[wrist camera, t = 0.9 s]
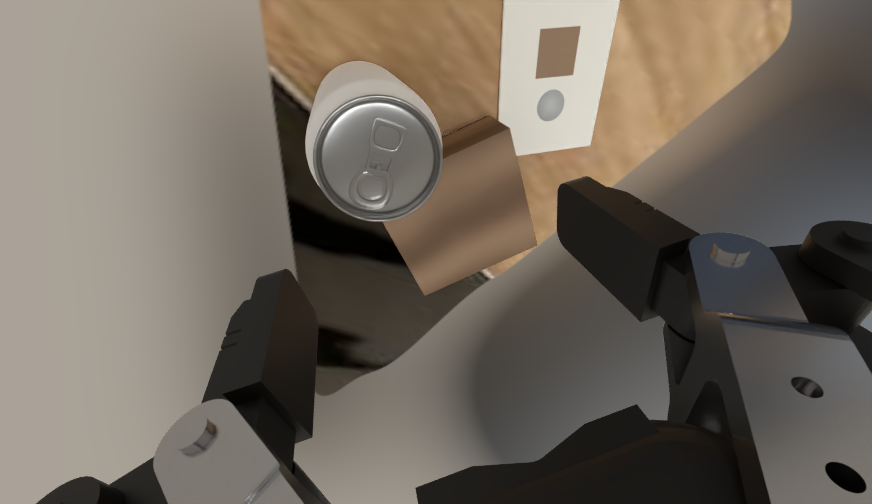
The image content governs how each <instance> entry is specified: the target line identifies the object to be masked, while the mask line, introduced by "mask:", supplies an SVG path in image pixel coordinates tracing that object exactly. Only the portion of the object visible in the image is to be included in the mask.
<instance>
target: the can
mask: <svg viewBox="0 0 872 504" xmlns="http://www.w3.org/2000/svg"><path fill="white" fill-rule="evenodd" d="M305 147H306V156H307V161H308V165H309V168H310V171H311V173H312V175H313V177H314V179H315V181H316V182H317V184H318V185H319V187H320V188H321V189H322V191H323V192H324V194H325V195H326V197H327V198H328V199H329V200H330V201H331V202H332V203H333V204H334V205H335V206H336V207H337V208H339V209H340V210H341V211H343V212H345V213H346V214H348V215H350V216H353V217H355V218H358V219H361V220H365V221H372V222H386V221H392V220H396V219H400V218H402V217H405V216H407V215H409V214H411V213H413V212H414V211H416V210H417V209H418V208H420V207H421V206H422V205H423V204H424V203H425V202H426V201H427V200H428V199H429V198H430V196H431V195H432V193H433V192H434V190H435V188H436V187H437V184H438V182H439V179H440V176H441V172H442V166H443V152H442V137H441V133H440V129H439V126H438V123H437V121H436V119H435V117H434V115H433V113H432V112H431V110H430V108H429V107H428V106H427V104H426V103H425V102H424V101H423V100H422V99H421V98H420V97H419V96H418V95H417V94H416V93H415V92H414V91H413V90H411V89H410V88H409V87H408V86H407V85H405V84H404V83H403V82H401V81H400V80H399V79H398V78H396V77H395V76H394V75H392V74H391V73H390V72H388V71H387V70H386V69H384V68H382V67H380V66H378V65H376V64H374V63H370V62H366V61H351V62H347V63H344V64H341V65H339V66H337V67H335V68H334V69H333V70H331V71H330V72H329V73H328V74H327V75H326V76H325V78H324V79H323V81H322V82H321V84H320V86H319V89H318V91H317V94H316V97H315V100H314V104H313V107H312V111H311V114H310V118H309V122H308V126H307V131H306V140H305Z"/></svg>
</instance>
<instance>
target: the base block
mask: <svg viewBox="0 0 872 504" xmlns="http://www.w3.org/2000/svg"><path fill="white" fill-rule="evenodd" d="M442 152H443V166H442V172H441V176H440V179H439V182H438V184H437V187H436V188H435V190H434V192H433V193H432V195H431V196H430V198H429V199H428V200H427V201H426V202H425V203H424V204H423V205H422V206H421V207H420V208H418V209H417V210H416V211H414V212H413V213H411V214H409V215H407V216H405V217H402V218H400V219H396V220H392V221H386V222H383V224H384V225H385V227H386V229H387V231H388V232H389V234H390V236H391V238H392V239H393V241H394V243H395V245H396V246H397V248H398V250H399V252H400V253H401V255H402V257H403V259H404V260H405V262H406V264H407V266H408V267H409V269H410V271H411V273H412V274H413V276H414V278H415V280H416V281H417V283H418V285H419V287H420V288H421V290H422V292H423V294H424V295H428V294H430V293H432V292H434V291H437V290H439V289H441V288H443V287H445V286H448V285H450V284H452V283H454V282H457V281H459V280H461V279H463V278H465V277H468V276H470V275H472V274H474V273H477V272H479V271H481V270H483V269H486V268H488V267H490V266H492V265H494V264H497V263H499V262H501V261H503V260H506V259H508V258H510V257H512V256H514V255H517V254H519V253H521V252H523V251H526V250H528V249H530V248H532V247H534V246H537V242H536V237H535V233H534V229H533V224H532V220H531V216H530V212H529V207H528V203H527V199H526V195H525V190H524V186H523V182H522V178H521V173H520V169H519V165H518V161H517V156H516V152H515V148H514V144H513V139H512V135H511V131H510V128H509V127H507V126H506V125H504V124H503V123H501V122H499V121H498V120H496V119H495V118H493V117H491V116H487V117H485V118H483V119H481V120H479V121H477V122H475V123H472V124H470V125H468V126H466V127H464V128H462V129H460V130H457V131H455V132H453V133H451V134H449V135H447V136H445V137H442Z"/></svg>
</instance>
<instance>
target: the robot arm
mask: <svg viewBox="0 0 872 504" xmlns="http://www.w3.org/2000/svg"><path fill="white" fill-rule="evenodd" d="M557 233H558V237H559V240H560V242H561V244H562V245H563V246H564V248H565V249H566V250H567V251H568V252H569V253H570V254H571V255H572V256H573V257H574V258H576V259H577V260H578V261H579V262H580V263H581V264H582V265H583V266H584V267H585V268H586V269H587V270H588V271H589V272H590V273H591V274H592V275H593V276H594V277H595V278H596V279H597V280H598V281H599V282H600V283H601V284H602V285H603V286H604V287H605V288H607V290H608V291H609V292H610V293H611V294H612V295H614V296H615V297H616V298H617V299H618V300H619V301H620V302H621V303H622V304H623V305H624V306H625V307H626V308H627V309H628V310H629V311H630V312H631V313H632V314H633V315H634V316H635V317H636V318H637V319H638V320H639V321H640V322H643V321H645V320H648V319H651V318H654V317H656V316H660V317H661V318H663V319H664V320H665V323H664V326H663V337H664V347H665V356H666V366H667V374H668V384H669V396H670V397H669V408H668V416H667V421H666V420H649V419H648V418H647V417H646V415H645V414H644V413H643V412H642V411H641V409H640V408H639V407H638V405H634V406H631V407H628V408H626V409H623V410H620V411H618V412H615V413H612V414H610V415H607V416H605V417H602V418H599V419H596V420H594V421H591V422H589V423H586V424H584V425H583V426H582V427H580V428H579V429H578V430H577V431H575V432H574V433H573V434H571V435H570V436H569V437H568V438H566V439H565V440H564V441H563V442H561V443H560V444H559V445H558V446H556V447H555V448H554V449H553V450H551V452H549V453H548V454H546V455H545V456H544V457H543V458H541V459H540V460H538V461H535V462H530V463H515V464H500V465H486V466H472V467H469V468H467V469H464V470H462V471H459V472H456V473H454V474H451V475H448V476H446V477H443V478H440V479H438V480H435V481H432V482H430V483H427V484H424V485H422V486H419V487H417V488H416V493H417V499H418V504H872V332H870V331H868V330H867V329H865V328H863V327H862V326H860V323H861V322H862V321H863V320H864V319H865V318H866V316H867V315H868V314H869V313H870V311H871V310H872V224H868V223H862V222H855V221H827V222H822V223H819V224H817V225H815V226H813V227H812V228H811V230H810V231H809V233H808V235H807V237H806V239H805V240H804V242H803V244H800V245H788V246H777V247H767V246H766V245H764V244H763V243H761V242H759V241H757V240H755V239H752V238H750V237H746V236H743V235H739V234H734V233H726V232H712V233H706V234H699V233H697V232H695V231H693V230H692V229H690V228H688V227H687V226H685V225H683V224H681V223H680V222H678V221H676V220H675V219H673V218H671V217H669V216H667V215H666V214H664V213H662V212H661V211H659V210H654V208H653V207H652V206H650V205H649V204H647V203H645V202H644V203H642V201H641V200H640V199H638V198H636V197H635V196H633V195H631V194H629V193H628V192H624V191H621V190H617V189H614V188H610V187H605V186H604V185H602V184H600V183H599V182H597V181H595V180H594V179H592V178H590V177H587V176H585V177H582V178H579V179H575V180H572V181H569V182H566V183H563V184H561V185H560V186H559V188H558V198H557ZM317 339H318V322H317V317H316V314H315V311H314V309H313V307H312V305H311V304H310V302H309V300H308V299H307V297H306V295H305V294H304V292H303V290H302V289H301V287H300V285H299V284H298V282H297V281H296V279H295V277H294V276H293V274H292V273H291V272H290V271H289V270H287V269H284V270H281V271H278V272H275V273H272V274H268V275H265V276H262V277H259V278H258V279H257V280H256V283H255V287H254V290H253V293H252V297H251V299H250V300H246V301H244V302H243V303H242V304H241V306H240V307H239V308H238V309H237V311H236V312H235V313H234V315H233V316H232V317H231V320H230V323H229V325H228V329H227V331H226V337H224V340H223V343H222V345H221V349H222V350H221V351H219V355H218V357H217V360H216V363H215V366H214V369H213V371H212V374H211V377H210V380H209V383H208V386H207V388H206V391H205V394H204V397H203V400H202V403H201V404H200V405H198V406H196V407H194V408H193V409H191V410H190V411H188V412H187V413H186V414H184V415H183V416H182V417H181V418H180V419H179V420H177V421H176V423H175V424H174V425H173V426H172V427H171V428H170V429H169V430H168V432H167V433H166V434H165V436H164V437H163V439H162V440H161V442H160V444H159V446H158V448H157V451H156V453H155V456H154V457H153V458H151V459H150V460H148V461H147V462H145V463H143V464H142V465H140V466H139V467H137V468H135V469H134V470H132V471H131V472H129V473H127V474H126V475H124V476H123V477H121V478H119V479H118V480H116V481H115V482H113V483H111V484H110V485H108V484H106V483H104V482H102V481H99V480H97V479H95V478H93V477H88V476H86V477H80V478H76V479H74V480H71V481H69V482H67V483H65V484H63V485H61V486H59V487H58V488H56V489H55V490H53V491H52V492H50V493H49V494H47V495H46V496H45V497H44V498H42V499H41V500H40V501H39V502H38V503H36V504H331V503H330V502H329V501H328V500H327V498H326V497H325V496H324V495H323V494H322V492H321V491H320V490H319V489H318V488H317V487H316V485H315V484H314V483H313V482H312V481H311V480H310V478H309V477H308V476H307V475H306V473H305V472H304V471H303V470H302V469H301V468H300V467H299V465H298V464H297V463H296V462H295V461H294V460H293V457H294V446H295V443H298V442H301V441H304V440H306V439H309V438H312V434H313V414H314V396H315V377H316V358H317Z"/></svg>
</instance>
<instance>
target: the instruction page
mask: <svg viewBox="0 0 872 504" xmlns="http://www.w3.org/2000/svg"><path fill="white" fill-rule="evenodd" d="M619 2H620V0H503V10H502V32H501V54H500V75H499V97H498V119H497V120H498V121H499V122H501V123H503V124H504V125H506V126H507V127H509V128H510V131H511V135H512V139H513V144H514V148H515V152H516V156H520V155H527V154H534V153H541V152H548V151H555V150H562V149H569V148H576V147H583V146H590V144H591V139H592V134H593V129H594V124H595V120H596V115H597V110H598V105H599V100H600V95H601V90H602V85H603V80H604V75H605V70H606V66H607V61H608V56H609V51H610V46H611V41H612V36H613V31H614V26H615V21H616V16H617V11H618V7H619Z"/></svg>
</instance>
